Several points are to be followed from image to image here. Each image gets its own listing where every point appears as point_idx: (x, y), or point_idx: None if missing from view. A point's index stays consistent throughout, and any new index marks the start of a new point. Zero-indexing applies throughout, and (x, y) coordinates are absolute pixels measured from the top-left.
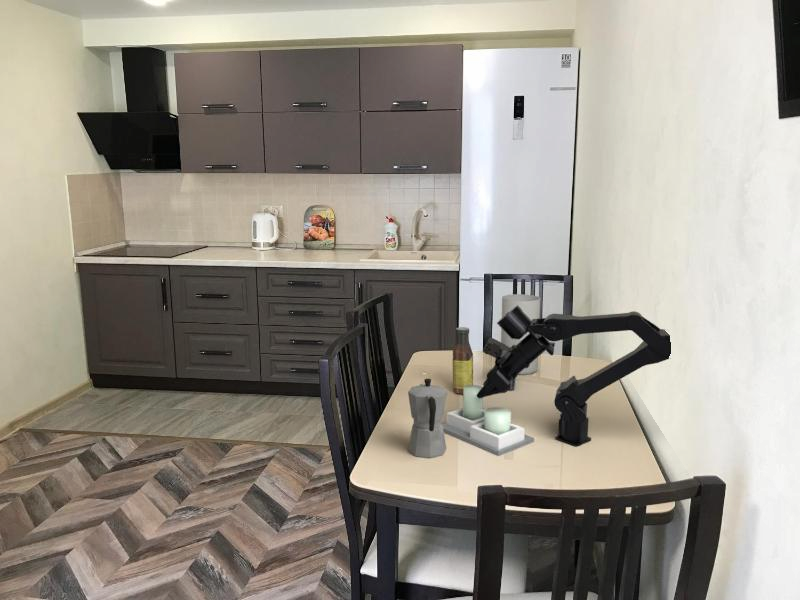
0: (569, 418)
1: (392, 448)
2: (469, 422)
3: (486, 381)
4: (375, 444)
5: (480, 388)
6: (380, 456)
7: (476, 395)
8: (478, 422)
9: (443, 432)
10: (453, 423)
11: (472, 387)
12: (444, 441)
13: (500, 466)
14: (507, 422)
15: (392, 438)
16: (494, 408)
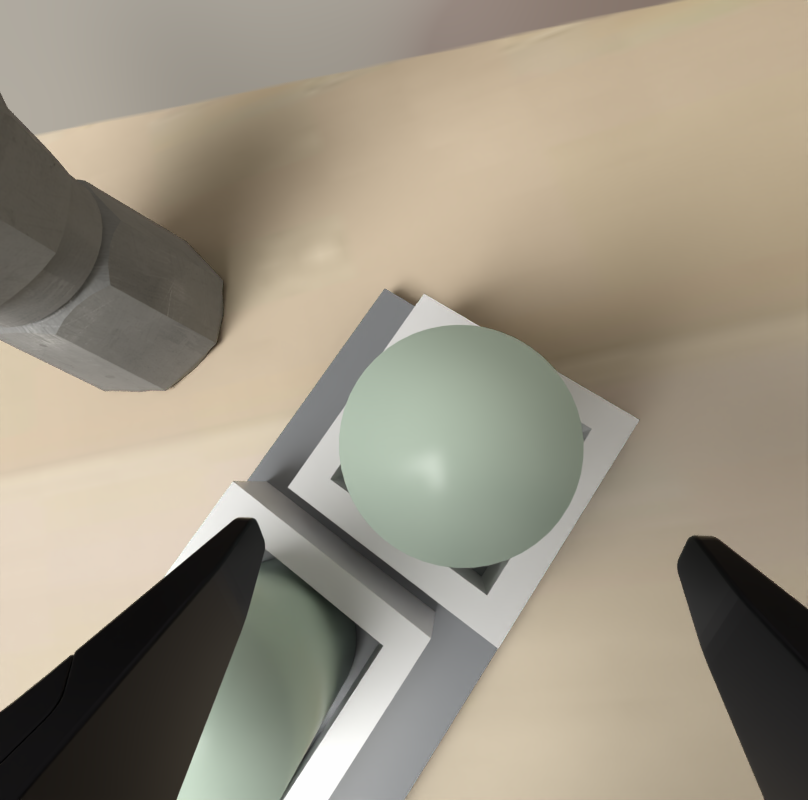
0: None
1: (150, 184)
2: (306, 463)
3: (729, 599)
4: (177, 116)
5: (469, 533)
6: (76, 171)
7: (238, 517)
8: (333, 519)
9: (87, 354)
10: None
11: (478, 426)
12: (121, 374)
13: (27, 674)
14: None
15: (245, 150)
16: (260, 691)
